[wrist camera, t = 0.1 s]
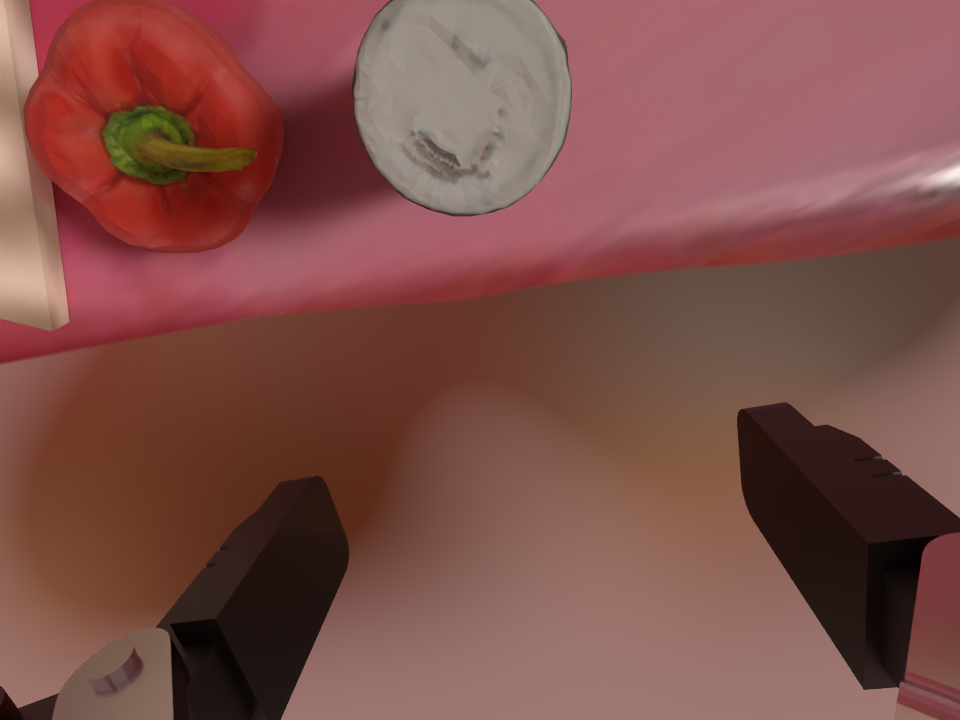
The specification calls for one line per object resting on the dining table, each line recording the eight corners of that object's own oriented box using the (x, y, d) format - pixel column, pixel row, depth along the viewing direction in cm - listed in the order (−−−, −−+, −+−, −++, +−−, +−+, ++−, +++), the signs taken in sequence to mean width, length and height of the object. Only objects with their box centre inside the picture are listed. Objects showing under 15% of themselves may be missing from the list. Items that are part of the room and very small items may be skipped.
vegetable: (325, 26, 26) (230, -3, 17) (331, 232, 31) (260, 292, 22) (106, 0, 26) (-105, -44, 17) (147, 210, 30) (2, 262, 22)
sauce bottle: (457, 183, 29) (381, 337, 11) (398, 70, 26) (184, 46, 9) (565, 123, 27) (671, 197, 10) (513, -3, 25) (528, -212, 7)
